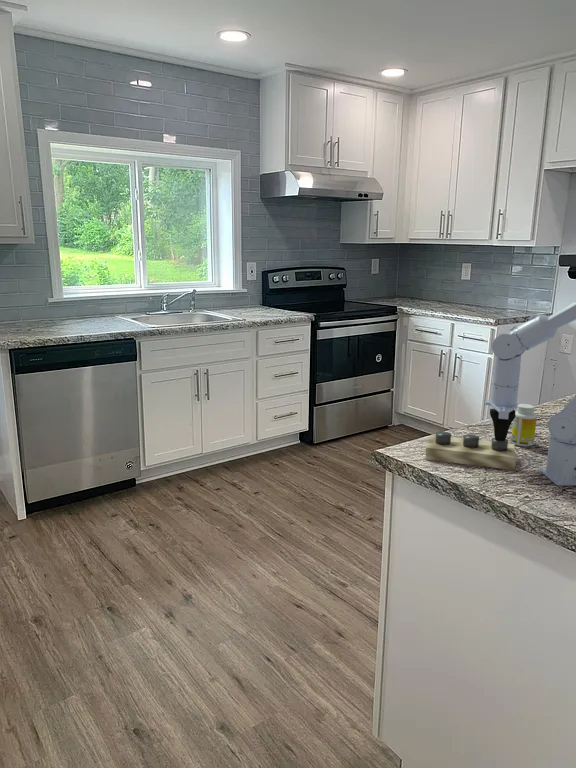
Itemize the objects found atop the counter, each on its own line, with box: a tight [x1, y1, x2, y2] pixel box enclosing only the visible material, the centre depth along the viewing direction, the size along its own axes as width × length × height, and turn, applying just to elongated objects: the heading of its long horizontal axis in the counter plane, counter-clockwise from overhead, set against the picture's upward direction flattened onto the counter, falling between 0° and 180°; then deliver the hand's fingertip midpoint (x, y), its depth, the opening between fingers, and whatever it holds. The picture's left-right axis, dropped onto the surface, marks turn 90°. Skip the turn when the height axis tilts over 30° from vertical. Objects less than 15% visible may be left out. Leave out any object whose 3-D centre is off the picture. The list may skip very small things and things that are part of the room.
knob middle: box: [463, 434, 480, 448], centre depth 139 cm, size 4×4×5 cm
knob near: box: [491, 437, 509, 451], centre depth 137 cm, size 4×4×5 cm
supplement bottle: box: [510, 403, 538, 447], centre depth 148 cm, size 6×6×10 cm
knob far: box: [435, 431, 452, 445], centre depth 141 cm, size 4×4×5 cm
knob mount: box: [425, 434, 517, 471], centre depth 139 cm, size 20×10×3 cm, turn 71°
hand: (499, 440), depth 136 cm, fingers closed, pressing on knob near
